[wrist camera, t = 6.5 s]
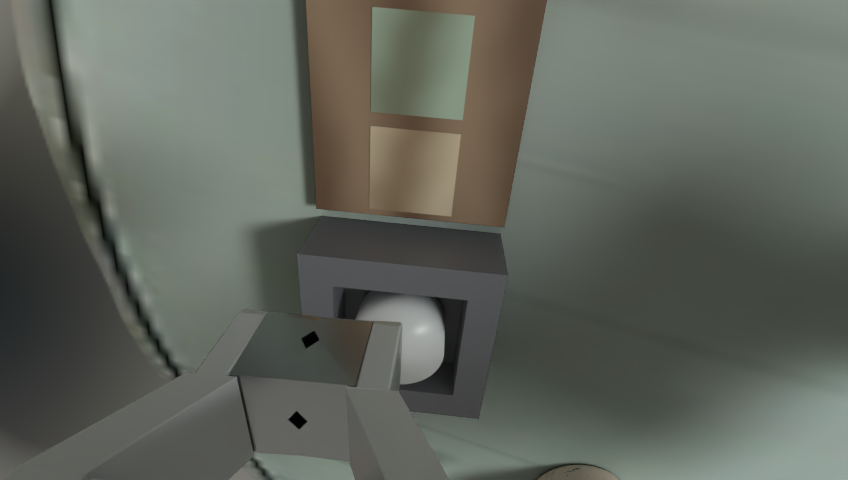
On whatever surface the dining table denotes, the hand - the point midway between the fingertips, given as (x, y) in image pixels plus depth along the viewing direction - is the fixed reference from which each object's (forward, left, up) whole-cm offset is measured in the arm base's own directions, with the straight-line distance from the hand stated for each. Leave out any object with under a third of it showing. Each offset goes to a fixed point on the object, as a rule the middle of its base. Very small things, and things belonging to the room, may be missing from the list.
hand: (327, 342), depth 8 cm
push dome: (0, +13, -17) cm, 21 cm away
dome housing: (0, +13, -19) cm, 23 cm away
